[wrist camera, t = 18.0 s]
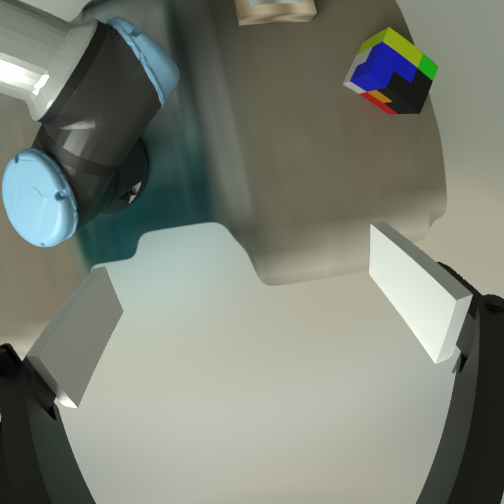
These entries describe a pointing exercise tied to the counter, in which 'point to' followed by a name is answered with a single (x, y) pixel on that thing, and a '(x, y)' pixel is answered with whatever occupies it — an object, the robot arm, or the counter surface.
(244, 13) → the pedestal
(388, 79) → the puzzle toy
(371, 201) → the counter surface
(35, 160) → the robot arm
